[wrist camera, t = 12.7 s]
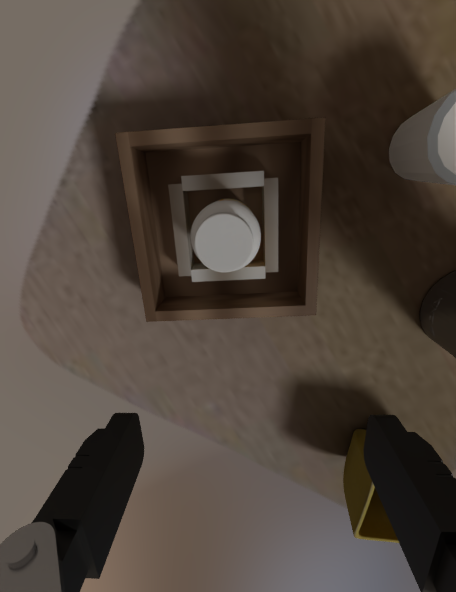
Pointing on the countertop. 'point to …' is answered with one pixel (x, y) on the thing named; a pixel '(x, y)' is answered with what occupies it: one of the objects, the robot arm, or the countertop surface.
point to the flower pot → (364, 496)
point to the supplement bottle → (225, 235)
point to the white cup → (427, 144)
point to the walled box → (215, 186)
